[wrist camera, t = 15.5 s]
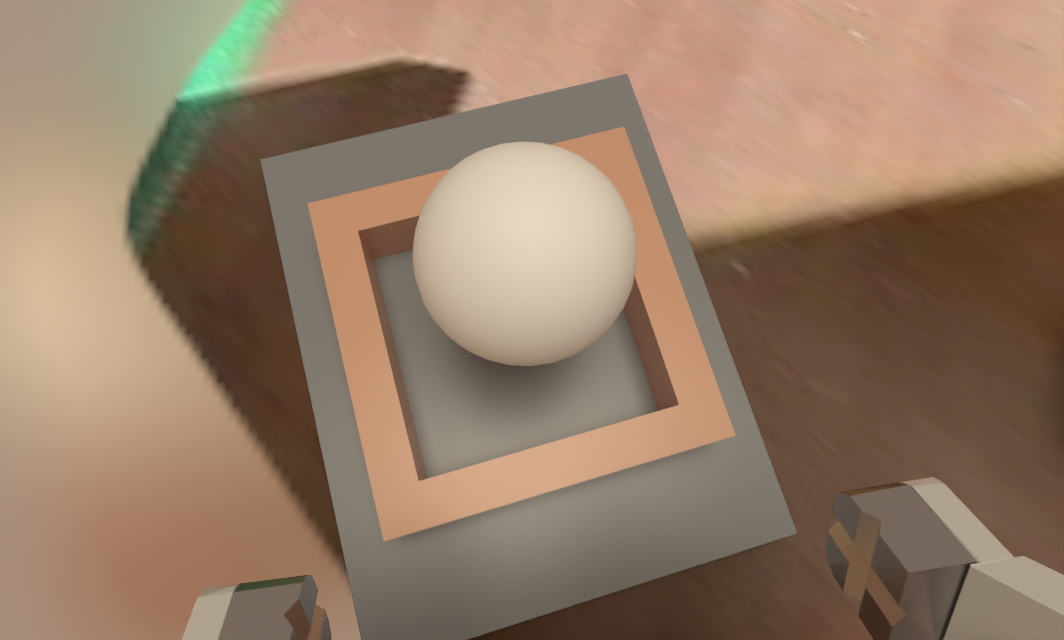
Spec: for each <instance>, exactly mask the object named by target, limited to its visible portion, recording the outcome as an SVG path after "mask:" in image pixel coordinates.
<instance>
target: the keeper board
mask: <svg viewBox="0 0 1064 640" xmlns="http://www.w3.org/2000/svg"><path fill="white" fill-rule="evenodd" d="M521 141H522V142H538V143H545V144H549V145H553V146H557V147H561V148H563V149H566V150H568V151H570V152H573V153H575V154H577V155H579V156H581V157H582V158H584V159H585V160H587V161H588V162H590V163H591V164H593V165H594V166H596V167H597V168H598V169H599V170H600V171H601V172H602V173H603V174H604V175H605V176H606V177H607V178H608V179H609V180H610V181H611V182H612V184H613V185H614V187H615V188H616V189H617V191H618V192H619V194H620V195H621V197H622V199H623V201H624V204H625V206H626V208H627V210H628V213H629V215H630V217H631V220H632V223H633V228H634V232H635V237H636V272H635V277H634V282H633V287H632V290H631V292H630V295H629V297H628V299H627V301H626V304H625V306H624V308H623V310H622V311H621V313H620V314H619V316H618V317H617V318H616V320H615V321H614V323H613V324H612V325H611V327H610V328H609V330H608V331H607V332H606V333H605V334H603V335H602V336H601V337H600V338H599V339H598V340H597V341H596V342H595V343H594V344H592V345H591V346H589V347H587V348H586V349H584V350H582V351H581V352H579V353H577V354H576V355H574V356H571V357H569V358H566V359H563V360H560V361H557V362H554V363H549V364H543V365H536V366H516V365H506V364H502V363H498V362H494V361H490V360H486V359H484V358H482V357H480V356H478V355H476V354H474V353H471V352H469V351H467V350H466V349H464V348H463V347H461V346H460V345H459V344H457V343H456V342H455V341H453V340H452V339H451V338H449V337H448V336H447V335H446V334H445V332H444V331H443V330H442V329H441V328H440V327H439V326H438V325H437V324H436V323H435V322H434V320H433V318H432V316H431V315H430V313H429V311H428V310H427V308H426V306H425V305H424V303H423V300H422V297H421V294H420V291H419V288H418V285H417V282H416V279H415V276H414V267H413V259H412V253H413V243H414V234H415V229H416V226H417V223H418V219H419V216H420V213H421V210H422V208H423V206H424V204H425V202H426V201H427V199H428V197H429V195H430V193H431V192H432V190H433V189H434V187H435V186H436V185H437V184H438V183H439V181H440V180H441V179H442V178H443V177H444V176H445V175H446V173H447V172H448V171H449V170H450V169H452V168H453V167H454V166H455V165H457V164H458V163H459V162H461V161H462V160H463V159H464V158H466V157H468V156H470V155H472V154H474V153H476V152H478V151H480V150H482V149H485V148H489V147H492V146H495V145H499V144H503V143H512V142H521ZM261 164H262V169H263V174H264V179H265V183H266V188H267V193H268V198H269V202H270V207H271V212H272V217H273V221H274V226H275V231H276V236H277V240H278V245H279V250H280V255H281V259H282V264H283V269H284V274H285V279H286V283H287V288H288V293H289V298H290V302H291V307H292V312H293V317H294V321H295V326H296V331H297V336H298V340H299V345H300V350H301V355H302V359H303V364H304V369H305V374H306V378H307V383H308V388H309V393H310V397H311V402H312V407H313V412H314V417H315V421H316V426H317V431H318V436H319V440H320V445H321V450H322V455H323V459H324V464H325V469H326V474H327V478H328V483H329V488H330V493H331V497H332V502H333V507H334V512H335V516H336V521H337V526H338V531H339V535H340V540H341V545H342V550H343V555H344V559H345V564H346V569H347V574H348V578H349V583H350V588H351V593H352V597H353V602H354V607H355V612H356V616H357V621H358V626H359V630H360V635H361V640H467V639H471V638H474V637H477V636H480V635H483V634H486V633H489V632H492V631H495V630H498V629H502V628H505V627H508V626H511V625H514V624H517V623H520V622H523V621H526V620H530V619H533V618H536V617H539V616H542V615H545V614H548V613H551V612H554V611H558V610H561V609H564V608H567V607H570V606H573V605H576V604H579V603H582V602H585V601H589V600H592V599H595V598H598V597H601V596H604V595H607V594H610V593H613V592H617V591H620V590H623V589H626V588H629V587H632V586H635V585H638V584H641V583H645V582H648V581H651V580H654V579H657V578H660V577H663V576H666V575H669V574H673V573H676V572H679V571H682V570H685V569H688V568H691V567H694V566H697V565H700V564H704V563H707V562H710V561H713V560H716V559H719V558H722V557H725V556H728V555H732V554H735V553H738V552H741V551H744V550H747V549H750V548H753V547H756V546H760V545H763V544H766V543H769V542H772V541H775V540H778V539H781V538H784V537H788V536H791V535H794V534H797V531H796V529H795V526H794V523H793V521H792V518H791V515H790V512H789V510H788V507H787V504H786V502H785V499H784V496H783V494H782V491H781V488H780V485H779V483H778V480H777V477H776V475H775V472H774V469H773V467H772V464H771V461H770V458H769V456H768V453H767V450H766V448H765V445H764V442H763V440H762V437H761V434H760V431H759V429H758V426H757V423H756V421H755V418H754V415H753V413H752V410H751V407H750V404H749V402H748V399H747V396H746V394H745V391H744V388H743V386H742V383H741V380H740V377H739V375H738V372H737V369H736V367H735V364H734V361H733V359H732V356H731V353H730V350H729V348H728V345H727V342H726V340H725V337H724V334H723V332H722V329H721V326H720V323H719V321H718V318H717V315H716V313H715V310H714V307H713V305H712V302H711V299H710V296H709V294H708V291H707V288H706V286H705V283H704V280H703V278H702V275H701V272H700V269H699V267H698V264H697V261H696V259H695V256H694V253H693V250H692V248H691V245H690V242H689V240H688V237H687V234H686V232H685V229H684V226H683V223H682V221H681V218H680V215H679V213H678V210H677V207H676V205H675V202H674V199H673V196H672V194H671V191H670V188H669V186H668V183H667V180H666V178H665V175H664V172H663V169H662V167H661V164H660V161H659V159H658V156H657V153H656V151H655V148H654V145H653V142H652V140H651V137H650V134H649V132H648V129H647V126H646V124H645V121H644V118H643V115H642V113H641V110H640V107H639V105H638V102H637V99H636V97H635V94H634V91H633V88H632V86H631V83H630V80H629V78H628V75H627V74H624V75H620V76H616V77H611V78H607V79H603V80H599V81H594V82H590V83H586V84H581V85H577V86H573V87H569V88H564V89H560V90H556V91H552V92H547V93H543V94H539V95H534V96H530V97H526V98H522V99H517V100H513V101H509V102H505V103H500V104H496V105H492V106H488V107H483V108H479V109H475V110H470V111H466V112H462V113H458V114H453V115H449V116H445V117H441V118H436V119H432V120H428V121H423V122H419V123H415V124H411V125H406V126H402V127H398V128H394V129H389V130H385V131H381V132H376V133H372V134H368V135H364V136H359V137H355V138H351V139H347V140H342V141H338V142H334V143H330V144H325V145H321V146H317V147H312V148H308V149H304V150H300V151H295V152H291V153H287V154H283V155H278V156H274V157H270V158H265V159H261Z"/></svg>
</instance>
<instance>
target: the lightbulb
mask: <svg viewBox="0 0 1064 640" xmlns="http://www.w3.org/2000/svg"><path fill="white" fill-rule="evenodd" d="M412 259H413V267H414V276H415V279H416V282H417V285H418V288H419V291H420V294H421V297H422V300H423V303H424V305H425V306H426V308H427V310H428V311H429V313H430V315H431V316H432V318H433V320H434V322H435V323H436V324H437V325H438V326H439V327H440V328H441V329H442V330H443V331H444V332H445V334H446V335H447V336H448V337H449V338H451V339H452V340H453V341H455V342H456V343H457V344H459V345H460V346H461V347H463V348H464V349H466V350H467V351H469V352H471V353H474V354H476V355H478V356H480V357H482V358H484V359H486V360H490V361H494V362H498V363H502V364H506V365H516V366H536V365H543V364H549V363H554V362H557V361H560V360H563V359H566V358H569V357H571V356H574V355H576V354H577V353H579V352H581V351H582V350H584V349H586V348H587V347H589V346H591V345H592V344H594V343H595V342H596V341H597V340H598V339H599V338H600V337H601V336H602V335H603V334H605V333H606V332H607V331H608V330H609V328H610V327H611V325H612V324H613V323H614V321H615V320H616V318H617V317H618V316H619V314H620V313H621V311H622V310H623V308H624V306H625V304H626V301H627V299H628V297H629V295H630V292H631V290H632V287H633V282H634V277H635V272H636V237H635V232H634V228H633V223H632V220H631V217H630V215H629V213H628V210H627V208H626V206H625V204H624V201H623V199H622V197H621V195H620V194H619V192H618V191H617V189H616V188H615V187H614V185H613V184H612V182H611V181H610V180H609V179H608V178H607V177H606V176H605V175H604V174H603V173H602V172H601V171H600V170H599V169H598V168H597V167H596V166H594V165H593V164H591V163H590V162H588V161H587V160H585V159H584V158H582V157H581V156H579V155H577V154H575V153H573V152H570V151H568V150H566V149H563V148H561V147H557V146H553V145H549V144H545V143H538V142H522V141H521V142H512V143H503V144H499V145H495V146H492V147H489V148H485V149H482V150H480V151H478V152H476V153H474V154H472V155H470V156H468V157H466V158H464V159H463V160H462V161H461V162H459V163H458V164H457V165H455V166H454V167H453V168H452V169H450V170H449V171H448V172H447V173H446V175H445V176H444V177H443V178H442V179H441V180H440V181H439V183H438V184H437V185H436V186H435V187H434V189H433V190H432V192H431V193H430V195H429V197H428V199H427V201H426V202H425V204H424V206H423V208H422V210H421V213H420V216H419V219H418V223H417V226H416V229H415V234H414V243H413V253H412Z"/></svg>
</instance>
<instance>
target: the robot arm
mask: <svg viewBox="0 0 1064 640" xmlns="http://www.w3.org/2000/svg"><path fill="white" fill-rule="evenodd" d="M832 511H833V513H834V514H835V515H836V517H837V518H838V521H837V522H836V523H835V524H834V525H833V526H832V527H831V528H830V529H829V530H828V533H827V540H826V551H827V557H828V562H829V565H830V568H831V570H832V572H833V575H834V577H835V579H836V581H837V582H838V584H839V585H840V587H841V589H842V590H843V591H844V592H845V593H847V594H848V595H850V596H852V597H853V598H855V599H856V600H858V601H860V611H859V617H860V619H861V621H862V622H863V624H864V625H865V627H866V628H867V630H868V632H869V633H870V635H871V636H872V638H873V639H874V640H1064V575H1062V574H1060V573H1058V572H1056V571H1054V570H1052V569H1050V568H1048V567H1046V566H1044V565H1042V564H1040V563H1037V562H1035V561H1033V560H1031V559H1029V558H1027V557H1025V556H1020V557H1014V556H1013V555H1012V554H1011V553H1010V552H1009V551H1008V550H1007V549H1006V548H1005V547H1004V546H1003V545H1002V544H1001V543H1000V542H999V541H998V540H997V539H996V538H995V536H994V535H993V534H992V533H991V532H990V531H989V530H988V529H987V528H986V527H985V526H984V525H983V524H982V523H981V522H980V521H979V520H978V519H977V518H976V517H975V516H974V514H973V513H972V512H971V511H970V510H969V509H968V508H967V507H966V506H965V505H964V504H963V503H962V502H961V501H960V500H959V499H958V498H957V497H956V496H955V495H954V494H953V492H952V491H951V490H950V489H949V488H948V487H947V486H946V485H945V484H944V483H943V482H942V481H940V480H938V479H936V478H934V477H931V478H925V479H919V480H912V481H906V482H901V483H891V484H885V485H879V486H873V487H867V488H861V489H855V490H849V491H843V492H840V493H839V494H838V495H837V496H836V497H835V498H834V503H833V508H832ZM317 592H318V589H317V587H316V585H315V582H314V580H313V577H312V576H310V575H304V576H296V577H288V578H281V579H273V580H266V581H257V582H249V583H241V584H237V585H229V586H222V587H215V588H207V589H204V591H203V592H202V593H201V594H200V596H199V597H198V598H197V600H196V602H195V605H194V607H193V610H192V613H191V616H190V618H189V621H188V624H187V626H186V629H185V632H184V634H183V637H182V640H331V632H330V626H329V621H328V618H327V615H326V612H325V610H324V609H322V608H321V607H319V606H317V605H316V598H317Z"/></svg>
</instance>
